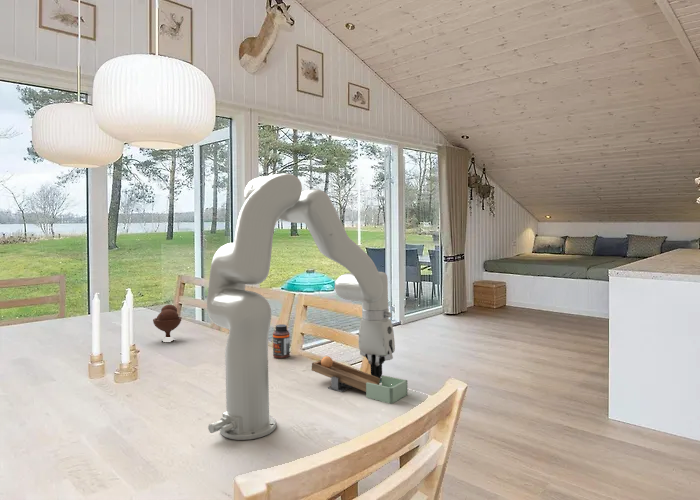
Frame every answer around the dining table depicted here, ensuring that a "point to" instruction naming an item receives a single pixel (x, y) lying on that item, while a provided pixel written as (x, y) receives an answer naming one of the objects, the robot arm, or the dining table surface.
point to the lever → (346, 375)
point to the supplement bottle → (281, 342)
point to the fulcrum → (338, 385)
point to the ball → (326, 362)
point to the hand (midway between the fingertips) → (376, 377)
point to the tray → (387, 389)
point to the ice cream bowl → (167, 319)
